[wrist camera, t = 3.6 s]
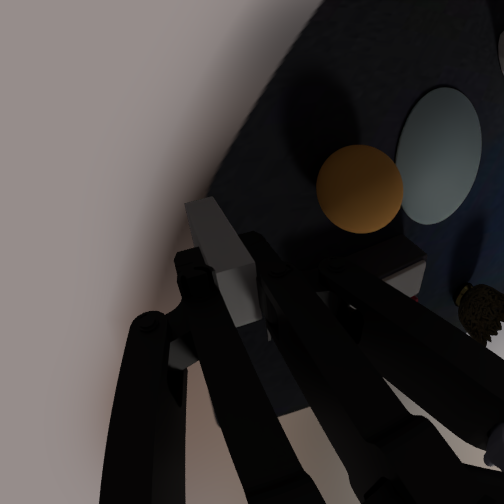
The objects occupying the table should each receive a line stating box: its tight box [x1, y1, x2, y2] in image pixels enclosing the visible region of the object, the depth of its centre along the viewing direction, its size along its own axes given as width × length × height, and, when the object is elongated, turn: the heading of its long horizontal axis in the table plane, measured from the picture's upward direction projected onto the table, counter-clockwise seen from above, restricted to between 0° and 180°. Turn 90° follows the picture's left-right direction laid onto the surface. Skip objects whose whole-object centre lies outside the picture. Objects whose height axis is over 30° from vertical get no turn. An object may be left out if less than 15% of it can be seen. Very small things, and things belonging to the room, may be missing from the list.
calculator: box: [312, 234, 427, 309], centre depth 28 cm, size 11×4×15 cm
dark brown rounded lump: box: [453, 282, 504, 347], centre depth 33 cm, size 8×7×8 cm
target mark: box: [395, 87, 482, 224], centre depth 23 cm, size 13×13×1 cm
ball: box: [316, 145, 403, 233], centre depth 18 cm, size 6×6×6 cm
